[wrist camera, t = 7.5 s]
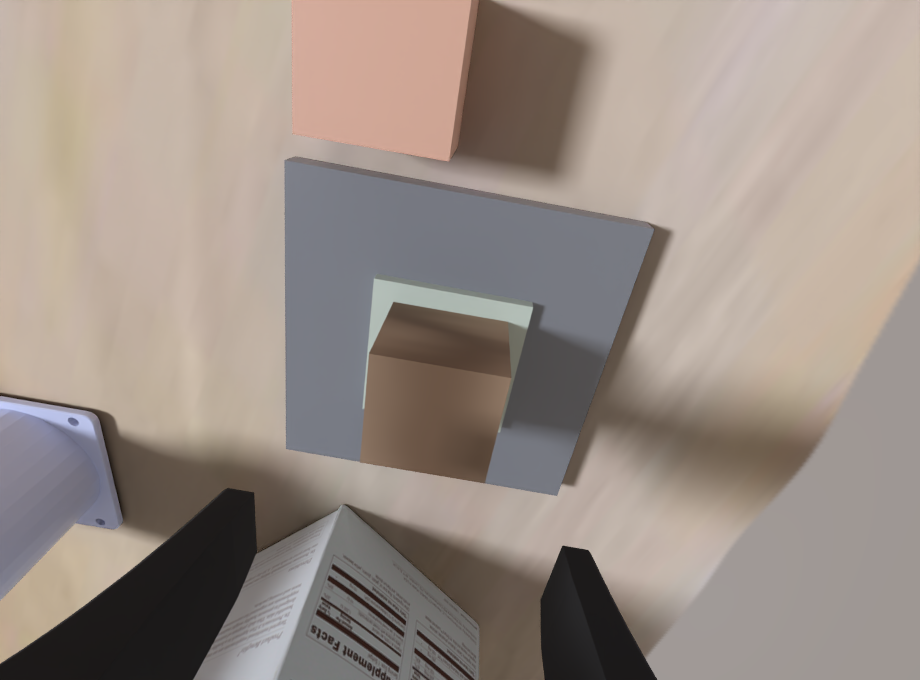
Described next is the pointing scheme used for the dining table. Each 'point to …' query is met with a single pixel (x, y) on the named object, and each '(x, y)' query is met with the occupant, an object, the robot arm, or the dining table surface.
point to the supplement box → (341, 614)
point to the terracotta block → (382, 72)
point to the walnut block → (435, 392)
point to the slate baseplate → (450, 302)
